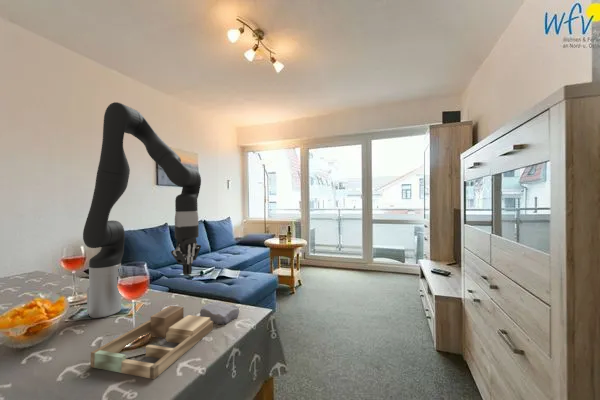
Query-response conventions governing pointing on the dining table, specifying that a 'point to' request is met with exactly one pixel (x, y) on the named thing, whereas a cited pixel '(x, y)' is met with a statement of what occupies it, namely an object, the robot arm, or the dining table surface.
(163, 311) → the walnut block
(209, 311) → the stone block
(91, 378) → the dining table surface
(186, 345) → the box
